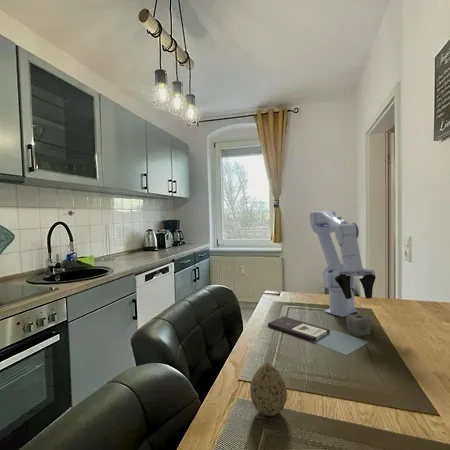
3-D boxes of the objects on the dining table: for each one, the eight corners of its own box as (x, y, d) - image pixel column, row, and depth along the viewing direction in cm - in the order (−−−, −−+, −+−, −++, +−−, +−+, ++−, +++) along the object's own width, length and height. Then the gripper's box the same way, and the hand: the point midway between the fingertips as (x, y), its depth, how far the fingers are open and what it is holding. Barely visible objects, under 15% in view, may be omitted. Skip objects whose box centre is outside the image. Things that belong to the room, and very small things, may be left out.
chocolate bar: (283, 316, 107) (329, 329, 94) (284, 318, 107) (329, 332, 94) (267, 323, 101) (313, 338, 88) (268, 326, 101) (313, 341, 88)
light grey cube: (370, 334, 91) (370, 318, 91) (355, 336, 91) (355, 320, 90) (360, 328, 96) (359, 313, 96) (346, 330, 95) (346, 315, 95)
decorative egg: (280, 399, 62) (278, 353, 62) (293, 422, 55) (291, 370, 55) (247, 404, 61) (245, 357, 61) (256, 428, 54) (254, 376, 53)
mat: (333, 330, 96) (333, 329, 96) (369, 342, 86) (369, 341, 86) (310, 341, 89) (310, 340, 89) (346, 355, 79) (346, 355, 79)
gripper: (339, 254, 93) (347, 297, 89) (377, 254, 97) (387, 296, 92) (327, 259, 100) (333, 299, 95) (363, 259, 103) (371, 299, 99)
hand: (359, 298), depth 94 cm, fingers open, 7 cm apart
